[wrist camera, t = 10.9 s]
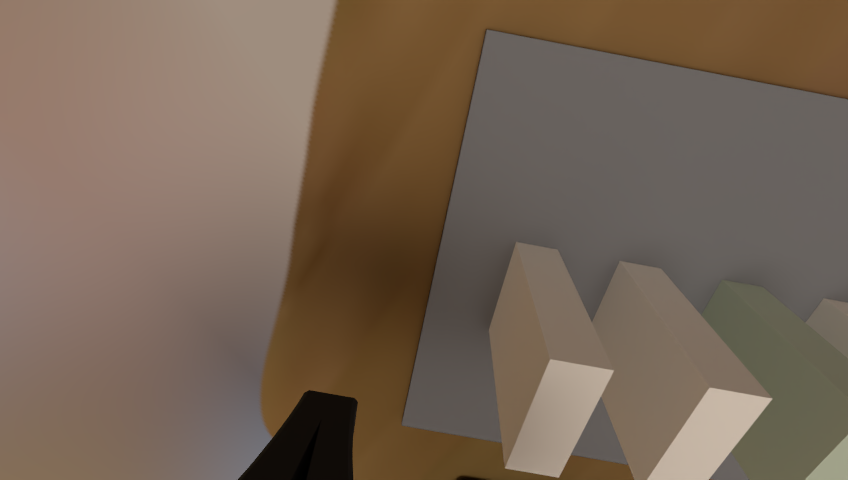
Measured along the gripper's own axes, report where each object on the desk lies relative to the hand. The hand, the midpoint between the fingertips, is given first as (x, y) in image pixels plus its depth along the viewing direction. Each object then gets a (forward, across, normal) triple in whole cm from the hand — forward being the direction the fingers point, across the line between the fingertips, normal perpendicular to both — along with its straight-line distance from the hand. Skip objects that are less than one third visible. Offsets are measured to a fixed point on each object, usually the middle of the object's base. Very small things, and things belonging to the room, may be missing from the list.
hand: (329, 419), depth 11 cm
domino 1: (+8, -6, 0) cm, 10 cm away
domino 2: (+8, -11, 0) cm, 14 cm away
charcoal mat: (+9, -16, 0) cm, 18 cm away
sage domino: (+8, -16, 0) cm, 18 cm away
